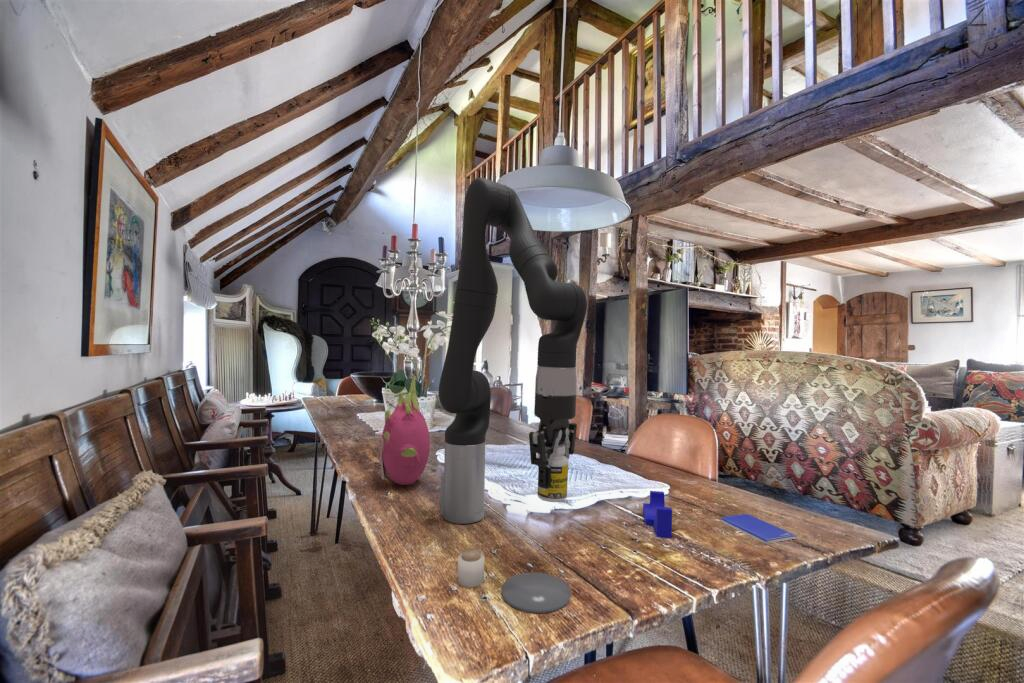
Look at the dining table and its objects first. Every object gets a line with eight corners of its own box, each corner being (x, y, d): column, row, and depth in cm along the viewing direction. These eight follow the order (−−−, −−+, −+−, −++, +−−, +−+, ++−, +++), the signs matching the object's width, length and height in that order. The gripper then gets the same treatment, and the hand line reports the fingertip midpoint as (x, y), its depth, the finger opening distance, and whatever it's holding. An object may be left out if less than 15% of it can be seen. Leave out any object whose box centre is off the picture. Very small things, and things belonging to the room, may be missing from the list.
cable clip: (642, 515, 109) (643, 490, 109) (662, 517, 109) (663, 491, 109) (649, 537, 98) (649, 508, 98) (671, 539, 97) (672, 510, 97)
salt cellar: (452, 582, 78) (452, 553, 78) (469, 571, 82) (469, 544, 82) (472, 590, 76) (473, 560, 75) (489, 579, 79) (489, 550, 79)
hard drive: (796, 534, 97) (748, 513, 109) (766, 539, 95) (720, 517, 106) (796, 542, 97) (748, 520, 109) (766, 547, 95) (720, 524, 106)
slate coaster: (488, 597, 73) (488, 593, 73) (525, 569, 83) (525, 566, 83) (549, 622, 67) (549, 617, 67) (582, 588, 76) (582, 585, 76)
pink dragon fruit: (377, 476, 136) (379, 373, 136) (425, 473, 140) (426, 373, 140) (379, 496, 119) (381, 379, 119) (433, 492, 123) (435, 378, 123)
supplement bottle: (547, 504, 82) (549, 449, 82) (532, 494, 87) (533, 442, 87) (572, 500, 85) (574, 446, 84) (556, 491, 89) (558, 440, 89)
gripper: (556, 386, 93) (553, 470, 94) (516, 392, 82) (513, 489, 82) (591, 390, 89) (588, 478, 89) (554, 397, 77) (550, 498, 78)
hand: (552, 482), depth 86 cm, fingers closed on supplement bottle, 5 cm apart
